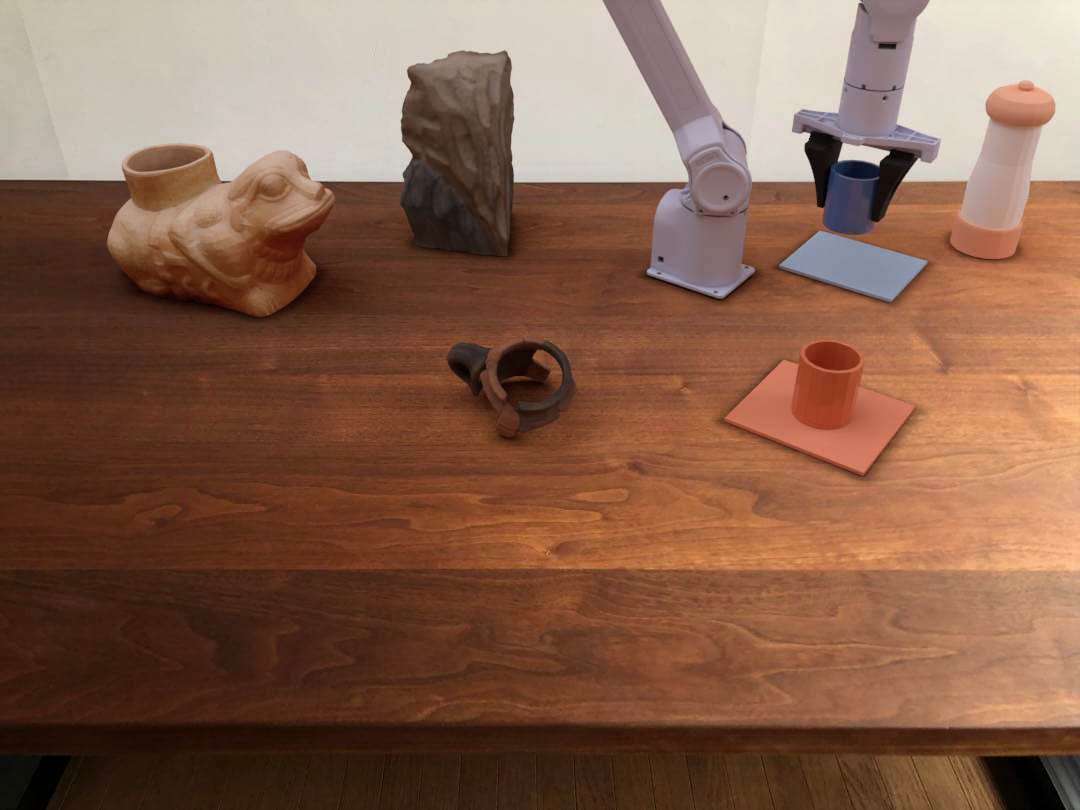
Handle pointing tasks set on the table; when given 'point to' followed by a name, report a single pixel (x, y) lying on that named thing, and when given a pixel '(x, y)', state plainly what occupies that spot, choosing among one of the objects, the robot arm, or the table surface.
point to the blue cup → (851, 197)
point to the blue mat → (854, 265)
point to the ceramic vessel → (218, 228)
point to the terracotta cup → (827, 384)
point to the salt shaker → (1002, 172)
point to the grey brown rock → (460, 152)
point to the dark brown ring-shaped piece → (507, 362)
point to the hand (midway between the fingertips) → (850, 211)
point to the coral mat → (841, 447)
